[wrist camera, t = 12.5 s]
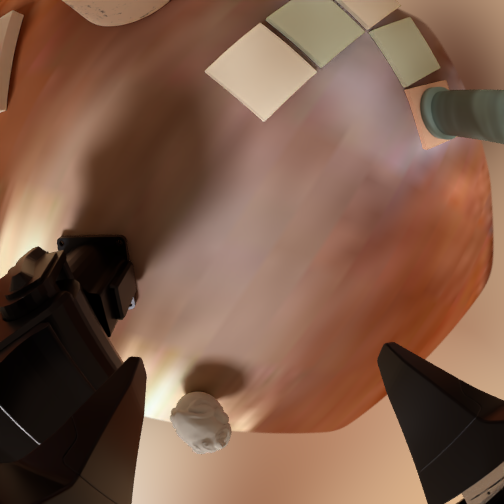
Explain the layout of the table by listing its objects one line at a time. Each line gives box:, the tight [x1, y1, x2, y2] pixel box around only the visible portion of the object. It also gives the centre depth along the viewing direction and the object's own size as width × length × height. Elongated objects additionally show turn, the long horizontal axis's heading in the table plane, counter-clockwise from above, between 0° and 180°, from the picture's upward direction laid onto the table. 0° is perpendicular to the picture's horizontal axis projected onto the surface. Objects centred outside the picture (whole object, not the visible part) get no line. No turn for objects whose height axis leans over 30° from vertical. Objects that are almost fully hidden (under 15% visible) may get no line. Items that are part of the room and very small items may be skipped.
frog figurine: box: [170, 392, 231, 454], centre depth 25 cm, size 6×7×7 cm
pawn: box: [420, 87, 504, 144], centre depth 12 cm, size 5×5×13 cm
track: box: [205, 0, 458, 150], centre depth 15 cm, size 23×17×1 cm
